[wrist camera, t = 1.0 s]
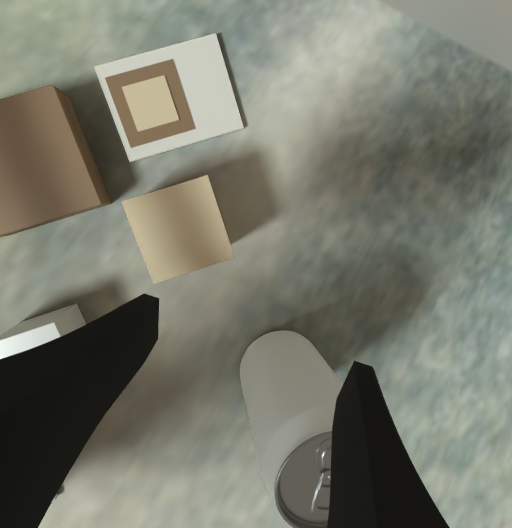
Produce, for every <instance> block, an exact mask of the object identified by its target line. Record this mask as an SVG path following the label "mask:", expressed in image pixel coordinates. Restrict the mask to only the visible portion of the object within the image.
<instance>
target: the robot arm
mask: <svg viewBox="0 0 512 528" xmlns="http://www.w3.org/2000/svg"><path fill="white" fill-rule="evenodd" d="M158 320H159V298H156V297H153V296H150V295H147V294H142V295H141V296H139V297H137V298H135V299H133V300H131V301H129V302H128V303H126V304H124V305H122V306H120V307H118V308H117V309H115V310H113V311H111V312H109V313H107V314H106V315H104V316H102V317H100V318H98V319H96V320H94V321H92V322H90V323H88V324H86V325H84V326H82V327H80V328H78V329H76V330H74V331H72V332H70V333H68V334H65V335H63V336H61V337H59V338H56V339H54V340H52V341H49V342H47V343H44V344H42V345H39V346H37V347H34V348H31V349H29V350H26V351H23V352H20V353H17V354H14V355H11V356H8V357H5V358H2V359H0V528H38V526H39V524H40V523H41V521H42V519H43V517H44V515H45V513H46V511H47V510H48V508H49V506H50V504H52V503H54V502H55V500H56V498H57V492H58V490H59V488H60V487H61V485H62V483H63V481H64V479H65V478H66V476H67V474H68V473H69V471H70V469H71V468H72V466H73V464H74V463H75V461H76V459H77V457H78V456H79V454H80V452H81V451H82V449H83V448H84V446H85V444H86V443H87V441H88V439H89V438H90V436H91V435H92V433H93V431H94V430H95V428H96V427H97V425H98V424H99V422H100V421H101V419H102V418H103V416H104V415H105V414H106V412H107V411H108V410H109V408H110V407H111V406H112V404H113V403H114V402H115V400H116V399H117V398H118V397H119V395H120V394H121V393H122V391H123V390H124V389H125V387H126V386H127V385H128V383H129V382H130V381H131V379H132V378H133V377H134V376H135V374H136V373H137V372H138V370H139V369H140V368H141V366H142V365H143V363H144V362H145V360H146V359H147V357H148V355H149V354H150V352H151V350H152V348H153V347H154V345H155V343H156V341H157V340H158ZM327 528H449V526H448V525H447V523H446V521H445V520H444V518H443V517H442V515H441V514H440V512H439V510H438V509H437V507H436V505H435V504H434V502H433V500H432V498H431V497H430V495H429V493H428V492H427V490H426V488H425V486H424V484H423V483H422V481H421V479H420V477H419V475H418V473H417V471H416V469H415V468H414V466H413V464H412V462H411V460H410V458H409V455H408V453H407V451H406V449H405V447H404V445H403V443H402V441H401V438H400V436H399V434H398V432H397V429H396V427H395V425H394V422H393V420H392V417H391V415H390V413H389V410H388V407H387V405H386V402H385V400H384V397H383V394H382V391H381V389H380V386H379V383H378V380H377V377H376V374H375V371H374V369H373V367H372V366H369V365H365V364H362V363H359V362H356V361H354V363H353V365H352V367H351V369H350V371H349V373H348V375H347V378H346V380H345V382H344V384H343V386H342V388H341V390H340V392H339V394H338V397H337V399H336V405H335V411H334V418H333V425H332V445H331V476H330V502H329V514H328V522H327Z"/></svg>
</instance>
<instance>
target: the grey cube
mask: <svg viewBox="0 0 512 528" xmlns="http://www.w3.org/2000/svg"><path fill="white" fill-rule="evenodd" d="M84 325H86V323H85V321H84V319H83V316H82V314H81V312H80V310H79V307H78V305H77V304H73V305H70V306H67V307H64V308H61V309H58V310H55V311H52V312H49V313H46V314H43V315H40V316H37V317H34V318H31V319H28V320H25V321H22V322H20V323H18V324H17V325H15V326H14V327H12V328H11V329H10V330H8V331H7V332H5V333H4V334H2V335H1V336H0V359H2V358H5V357H8V356H11V355H14V354H17V353H20V352H23V351H26V350H29V349H31V348H34V347H37V346H39V345H42V344H44V343H47V342H49V341H52V340H54V339H56V338H59V337H61V336H63V335H65V334H68V333H70V332H72V331H74V330H76V329H78V328H80V327H82V326H84Z"/></svg>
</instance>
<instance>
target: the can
mask: <svg viewBox="0 0 512 528" xmlns="http://www.w3.org/2000/svg"><path fill="white" fill-rule="evenodd" d="M240 380H241V385H242V391H243V395H244V400H245V405H246V410H247V415H248V419H249V424H250V429H251V434H252V438H253V443H254V448H255V452H256V457H257V461H258V466H259V470H260V474H261V478H262V481H263V484H264V486H265V488H266V490H267V492H268V494H269V495H270V497H271V498H272V499H273V500H274V501H275V503H276V506H277V508H278V511H279V513H280V514H281V516H282V517H283V519H284V520H285V521H286V522H287V523H288V524H289V525H290V526H292V527H293V528H327V522H328V514H329V502H330V476H331V445H332V425H333V418H334V411H335V405H336V399H337V397H338V394H339V392H340V390H341V388H342V386H343V384H342V382H341V381H340V380H339V378H338V377H337V376H336V374H335V373H334V372H333V371H332V369H331V368H330V367H329V365H328V364H327V363H326V361H325V360H324V359H323V357H322V356H321V355H320V353H319V352H318V351H317V350H316V348H315V347H314V346H313V345H312V343H311V342H310V341H309V340H308V339H306V338H305V337H304V336H302V335H301V334H299V333H296V332H293V331H285V330H283V331H274V332H270V333H267V334H264V335H262V336H261V337H259V338H258V339H256V340H255V341H254V342H253V343H252V344H251V345H250V346H249V347H248V348H247V350H246V351H245V353H244V355H243V357H242V360H241V364H240Z"/></svg>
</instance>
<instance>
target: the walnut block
mask: <svg viewBox="0 0 512 528" xmlns="http://www.w3.org/2000/svg"><path fill="white" fill-rule="evenodd" d="M108 204H112V203H111V200H110V198H109V195H108V193H107V190H106V188H105V185H104V182H103V180H102V177H101V175H100V172H99V170H98V167H97V165H96V162H95V160H94V157H93V155H92V152H91V150H90V147H89V145H88V142H87V140H86V137H85V135H84V132H83V129H82V127H81V124H80V122H79V119H78V117H77V114H76V112H75V109H74V107H73V104H72V102H71V99H70V97H68V96H67V95H66V94H64V93H63V92H62V91H60V90H59V89H58V88H56V87H55V86H54V85H50V86H47V87H43V88H39V89H36V90H32V91H28V92H25V93H21V94H18V95H14V96H10V97H7V98H3V99H0V237H3V236H8V235H11V234H15V233H18V232H21V231H24V230H28V229H31V228H34V227H37V226H40V225H44V224H47V223H50V222H53V221H57V220H60V219H63V218H66V217H70V216H73V215H76V214H79V213H83V212H86V211H89V210H92V209H96V208H99V207H102V206H105V205H108Z"/></svg>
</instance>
